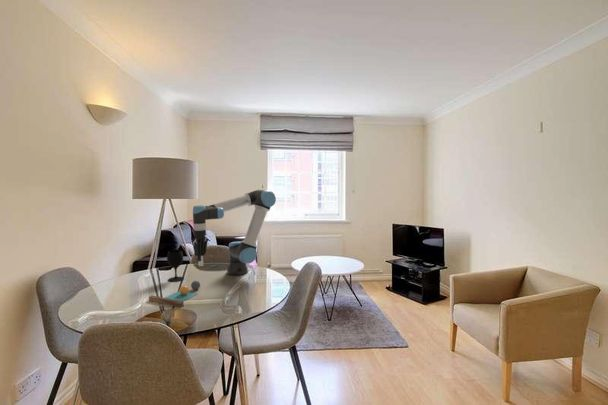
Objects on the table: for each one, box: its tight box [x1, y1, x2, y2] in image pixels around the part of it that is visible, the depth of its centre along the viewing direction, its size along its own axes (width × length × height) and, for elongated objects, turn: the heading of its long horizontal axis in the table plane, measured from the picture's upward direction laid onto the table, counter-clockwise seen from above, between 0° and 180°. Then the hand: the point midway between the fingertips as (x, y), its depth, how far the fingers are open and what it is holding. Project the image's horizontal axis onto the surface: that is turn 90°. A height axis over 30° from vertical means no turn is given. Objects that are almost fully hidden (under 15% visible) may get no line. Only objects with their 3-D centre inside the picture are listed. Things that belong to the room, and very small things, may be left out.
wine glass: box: [166, 249, 185, 283], centre depth 216 cm, size 10×10×20 cm
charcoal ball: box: [190, 280, 201, 291], centre depth 197 cm, size 6×6×6 cm
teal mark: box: [164, 290, 198, 303], centre depth 186 cm, size 14×14×1 cm
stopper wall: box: [148, 294, 185, 308], centre depth 176 cm, size 2×24×2 cm, turn 67°
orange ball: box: [178, 285, 190, 295], centre depth 189 cm, size 6×6×6 cm
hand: (200, 265), depth 202 cm, fingers closed
